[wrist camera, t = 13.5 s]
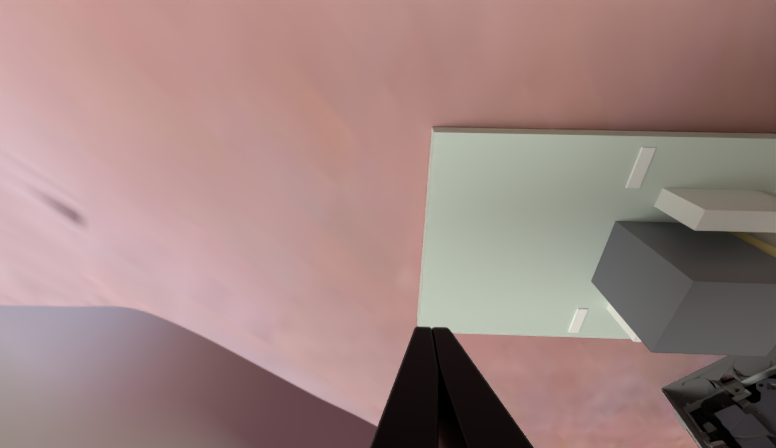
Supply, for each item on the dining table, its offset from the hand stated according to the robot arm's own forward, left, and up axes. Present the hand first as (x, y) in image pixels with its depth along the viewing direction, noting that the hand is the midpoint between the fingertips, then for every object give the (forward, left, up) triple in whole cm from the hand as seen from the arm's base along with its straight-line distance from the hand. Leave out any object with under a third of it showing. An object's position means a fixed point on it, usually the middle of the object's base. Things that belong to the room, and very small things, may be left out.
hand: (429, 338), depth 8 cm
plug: (+3, +13, -9) cm, 16 cm away
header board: (+3, +9, -11) cm, 14 cm away
